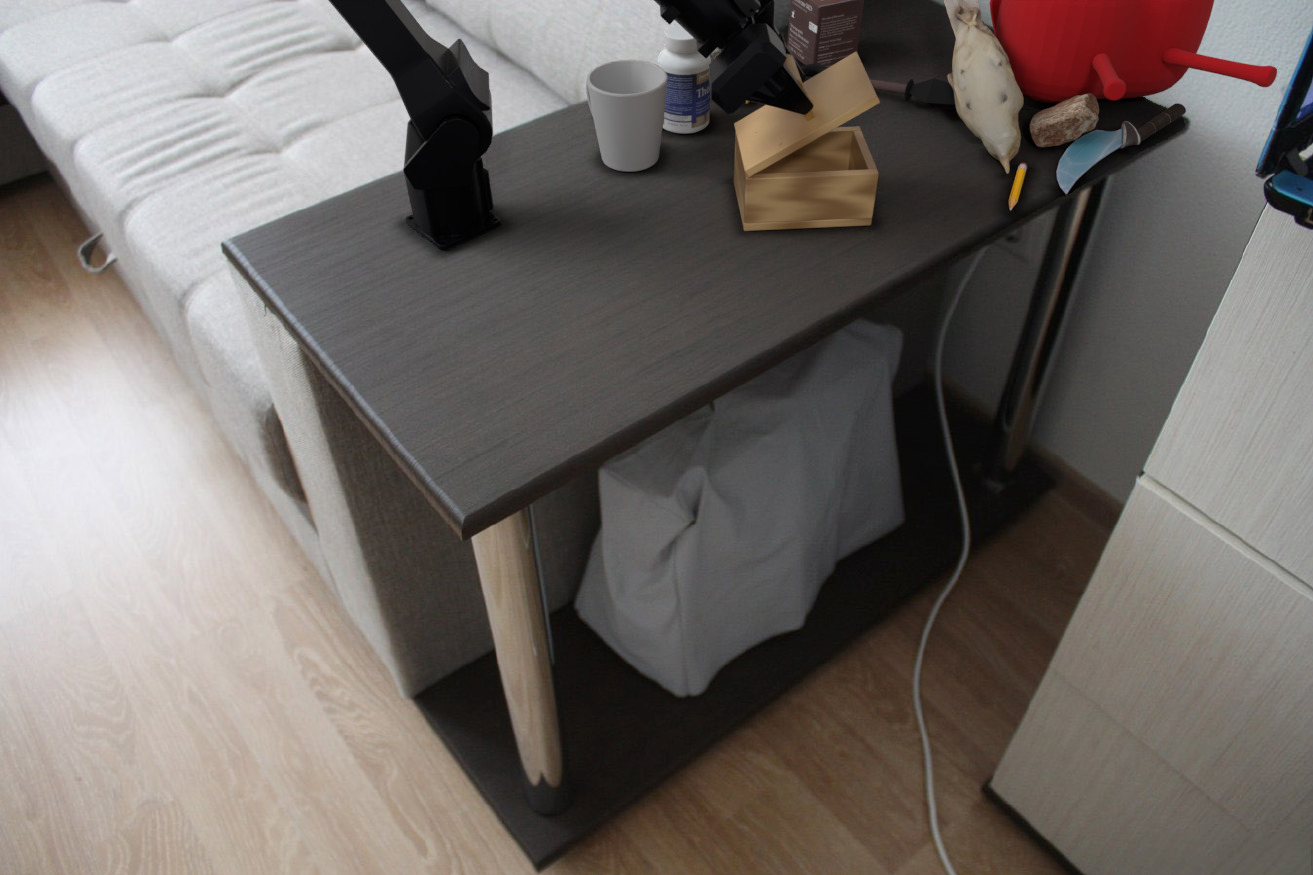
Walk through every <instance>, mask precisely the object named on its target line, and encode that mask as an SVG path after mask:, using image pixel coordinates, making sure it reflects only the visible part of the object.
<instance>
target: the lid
mask: <svg viewBox="0 0 1313 875" xmlns="http://www.w3.org/2000/svg"><path fill="white" fill-rule="evenodd" d="M786 57H787V58H786V60H785V64H786V65H787V67H788V68H789V70H790V71H791V72H792V74H793V75H794V77H795V78H796V80H797V81H798V82H799V84H800V85H801V87H802V88H803V89H804V91H805V92H806V94H807V95H808V97H809V98H810V100H811V101H812V103H813V106H814V107H813V109H812V110H810V111H809V112H808V113H807V114H806V115H802V114H799V113H795V112H791V111H788V110H784V109H780V108H777V107H773V106H769V105H765V104H764V105H763V106H761V107H759V108H758V109H756V110H755V111H753V112H750V113H749V114H748V115H746V116H745V117H743V118H741V119H739V120H737V121H736V122H734V123H733V125H734V130H735V134H736V135H737V139H738V143H739V148H740V152H741V157H742V161H743V165H744V170H745V172H746V174H747V175H748V177H751V176H752V175H754V174H756V173H758V172H759V171H761V170H763V169H765V168H766V167H768V166H770V165H772V164H773V163H775V162H777V161H779V160H780V159H782V158H784V157H786V156H787V155H789V154H791V153H793V152H794V151H796V150H798V149H800V148H802V147H803V146H805V145H807V144H809V143H810V142H812V141H814V140H816V139H817V138H819V137H821V136H823V135H824V134H826V133H828V132H830V131H831V130H833V129H835V128H837V127H841V126H842V125H844V124H845V123H847V122H849V121H851V120H852V119H854V118H856V117H858V116H860V115H862V114H863V113H865V112H866V111H868V110H870V109H871V108H874V107H876V106H877V105H879V104H880V103H881V101H880V99H879V97H878V94H877V92H876V90H874V88H873V86H872V84H871V81H870V79H871V78H870V77H869V75H868V73H867V70H866V68H865V65H864V64H863V62H862V59H861V58H860V56H859V53H858V51H857V52H854V53H853V54H851V55H849V56H847V57H846V58H844V59H842V60H841V61H839V62H837V63H836V64H834V65H832V66H830V67H827V69H826V70H824V71H822V72H820V73H816V74H815V75H813V76H811V77H812V78H810V79H809V80H807V81H805V82H804V83H802V80H801V77H800V74H799V71H798V69H797V66H796V63H795V60H794V58H795V57H794V58H793V56H791V55H790V54H786Z"/></svg>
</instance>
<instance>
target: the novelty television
mask: <svg viewBox="0 0 1313 875" xmlns="http://www.w3.org/2000/svg"><path fill="white" fill-rule="evenodd" d="M1214 3H1215V0H989V11H990V19H991V23H992V28H993V34H994V35H995V37H996V38H997V39H998V41H999V42H1000V44H1001V46H1002V48H1003V49H1004V51H1005V53H1006V54H1007V56H1008V59H1009V63H1010V65H1011V68H1012V71H1013V74H1014V77H1015V80H1016V82H1017V84H1018V86H1019V88H1020V90H1021V92H1022V94H1023V98H1026V99H1029V100H1031V101H1034V102H1039V103H1044V104H1052V105H1057V104H1059V103H1061V102H1062V101H1065V100H1068V99H1070V98H1073V97H1074V96H1077V95H1080V96H1081V95H1084V94H1090V93H1091V94H1092V95H1093V96H1095V97H1096V99H1097V100H1109V101H1118V100H1121V99H1135V98H1142V97H1147V96H1148V97H1149V96H1153V95H1156V94H1160V93H1164V92H1165V91H1167V90H1169V89H1171V88H1172V87H1173V86H1174V85H1176V84H1177V83H1178V82H1180V80H1181V79H1182V78H1183V77H1184V76H1185V74H1186V73H1187V72H1188V71H1189V69H1192V70H1197V71H1203V72H1207V73H1212V74H1217V75H1221V76H1225V77H1230V78H1234V79H1237V80H1241V81H1245V82H1248V83H1252V84H1254V85H1256V86H1258V87H1261V88H1269V87H1271V86H1272V85H1273V84H1274V83H1275V81H1276V78H1277V77H1278V76H1277V75H1278V68H1277V67H1275V66H1272V65H1257V64H1251V63H1244V62H1238V61H1233V60H1229V59H1224V58H1219V57H1214V56H1208V55H1204V54H1200V53H1198V51H1199V49H1200V46H1201V44H1202V41H1203V39H1204V36H1205V34H1206V31H1207V28H1208V25H1209V21H1210V18H1211V15H1212V11H1213V8H1214Z"/></svg>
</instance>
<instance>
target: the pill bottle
mask: <svg viewBox="0 0 1313 875" xmlns="http://www.w3.org/2000/svg"><path fill="white" fill-rule="evenodd" d="M663 44H664V48H663V49H662V50H661V51H660V53H659V54H658V55H657V56H658V57H657V65H658V66H659V67H661V68H662V69H663V70H664V71H665V72H666V74H667V79H668V80H667V90H666V101H665V112H664V122H663V130H665V131H667V132H670V133H674V134H682V135H683V134H684V135H685V134H694V133H697V132H700V131H702V130H704V129H705V128H707V126H708V125H709V124H710V115H711V92H710V84H709V64H710V63H711V62H712V58H711V57H712V56H711V54H710V55H709V56H708V57H707V58H705V57H704V56H702V55H701V54H700V53H699V52H698V51H697V43H696V40H695V39H694V38H693V37H692V36H691V35H690V34H689V33H688V32H687V31H686V30H685V29H684V28H683V27H682V26H681V25H679V24H678V23H674V24H670V25H668V26H667V27H666V28H665V29H664V31H663Z"/></svg>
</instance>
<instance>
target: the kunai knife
mask: <svg viewBox="0 0 1313 875" xmlns="http://www.w3.org/2000/svg"><path fill="white" fill-rule="evenodd" d="M800 68H801V69H802V71H803V73H804V74H805V77H806V79H805V80H804V81H803V82H802V83H804V82H805V81H807V80H809V79H810V78H812V77H813V76H806V75H809V74H819V73H820V72H822V71H824V70H826V69H827V68H828V67H826V66H824V65H822V64H808V65H805V64H803V65H802V66H800ZM869 79H870V81H871V84H872V86H873V88H874V90H875V91H881V92H887V93H893V94H900V95H904V99H905V101H906V102H909V100H910V99H911V98H912V97H914V98H915V99H916V100H919V101H921V102H923V103H924V104H926V105H927V106H929V107H931V108H941V109H956V105H955V98H954V90H953V88H952V86H951V85H950V83H949V81H944V80H942V79H938V78H929V79H926V80H924V81H921V82H917V83H915V82H914V79H913V78H911V79H909V80H908V82H907V83H906V84H905V83H898V82H892V81H886V80H879V79H872V78H869ZM1042 110H1043V109H1039V108H1035V107H1031V106H1029V105H1025V104H1023V106H1022V108H1021V110H1020V111H1042Z"/></svg>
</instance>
